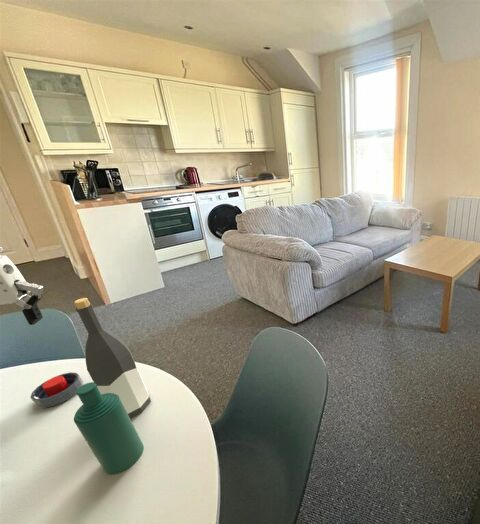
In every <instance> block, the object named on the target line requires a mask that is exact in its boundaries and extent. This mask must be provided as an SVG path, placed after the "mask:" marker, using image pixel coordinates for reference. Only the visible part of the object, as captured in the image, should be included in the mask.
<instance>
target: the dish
mask: <svg viewBox="0 0 480 524" xmlns="http://www.w3.org/2000/svg"><path fill="white" fill-rule="evenodd" d="M57 376H63V377H64V378H65V380H66V381H67V383H68V385H69V387H68V388H67V389H65V390H64V391H62V392H60V393H58V394H56V395H53V396H51V397H48V396H47V394H46V392H45V391H44V389H43V387H42V386H43V384H44V383H45V382H46V381H48V380H49V379H47V380H46V381H44V382H42V383H41V384H39V385H38V386H37V387H36V388H35V389H34V390H33V391H32V392H31V394H30V396H29V397H30V399H31V401H32V402H33V404H34V405H35V406H36V407H37V408H39V409H40V408H41V409H45V408H50V407H54V406H57V405H60V404H61V403H64V402H66V401H68V400H70V399H71V398H72V397H74V396H75V395H77V394H76V393H77V390H78V389H79V388H80V387H81V386H83V385H84V384H83V383H84V382H83V379H82V378H81V375H80V374H78V372H72V371H70V372H65V373H61V374H59V375H56V376H53V377H52V378H54V377H57Z"/></svg>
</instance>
